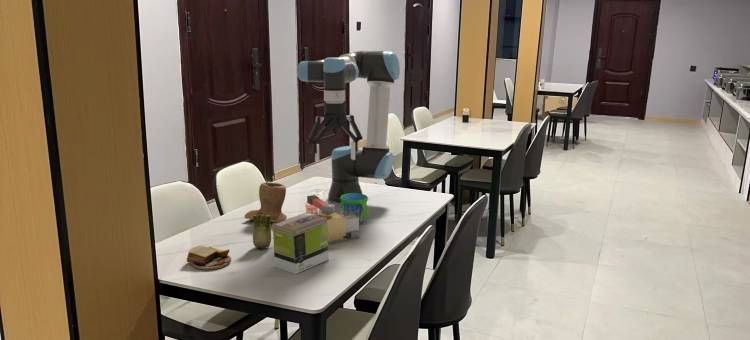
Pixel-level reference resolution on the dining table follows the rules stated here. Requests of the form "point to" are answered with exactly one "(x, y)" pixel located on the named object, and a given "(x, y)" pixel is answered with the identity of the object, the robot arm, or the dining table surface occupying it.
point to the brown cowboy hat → (270, 202)
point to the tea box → (300, 242)
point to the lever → (320, 204)
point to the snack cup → (355, 205)
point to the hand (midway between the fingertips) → (335, 160)
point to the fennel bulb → (261, 232)
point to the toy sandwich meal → (208, 258)
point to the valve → (341, 227)
